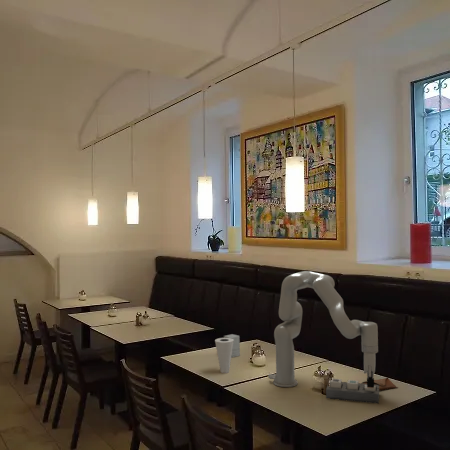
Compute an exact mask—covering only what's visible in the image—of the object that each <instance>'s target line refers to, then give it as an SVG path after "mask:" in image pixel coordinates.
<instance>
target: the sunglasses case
mask: <svg viewBox="0 0 450 450" xmlns="http://www.w3.org/2000/svg"><path fill="white" fill-rule="evenodd" d="M361 384H367V380H364V381H362V382H361ZM374 385H379V392H383V391H388V390H394V389H398V388H399V386H396V385H395V383H394V382H392V381H391V379H390V378H389V377H385V378H380V379H374Z"/></svg>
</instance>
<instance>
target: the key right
mask: <svg viewBox="0 0 450 450" xmlns="http://www.w3.org/2000/svg"><path fill="white" fill-rule="evenodd" d="M364 390H368V391H376V386H374V387H367V385H365V388H364Z"/></svg>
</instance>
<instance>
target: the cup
mask: <svg viewBox="0 0 450 450" xmlns="http://www.w3.org/2000/svg"><path fill="white" fill-rule="evenodd" d="M233 342H234V340H233V339H231V338H224V337H219V338H216V339H215V340H214V343H215V349H216V353H217V360H218V365H219V370H220V373H221V374H228V373H229V372H230V370H231V369H230V368H231V367H230V366H231V360H232V358H231V355H232V349H233Z"/></svg>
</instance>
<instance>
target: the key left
mask: <svg viewBox="0 0 450 450" xmlns="http://www.w3.org/2000/svg"><path fill="white" fill-rule="evenodd" d="M331 379H332V380H331ZM331 379H330V380H329V381H330V387H333V388H342V382H343V380H342V379H340V378H331Z"/></svg>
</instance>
